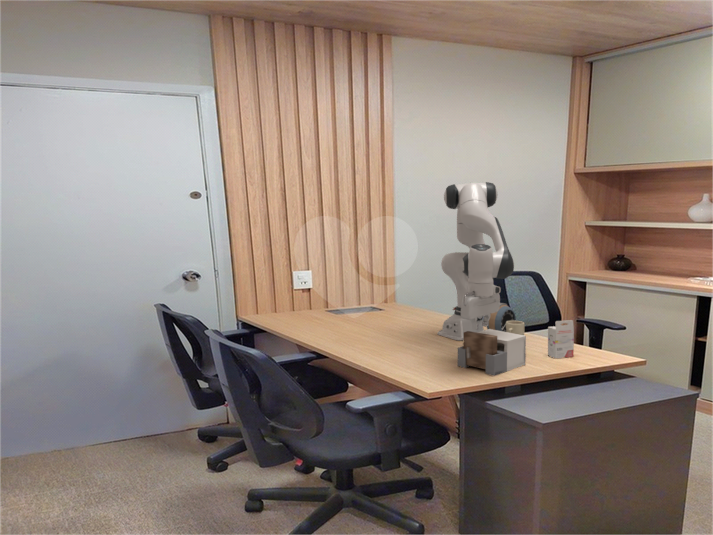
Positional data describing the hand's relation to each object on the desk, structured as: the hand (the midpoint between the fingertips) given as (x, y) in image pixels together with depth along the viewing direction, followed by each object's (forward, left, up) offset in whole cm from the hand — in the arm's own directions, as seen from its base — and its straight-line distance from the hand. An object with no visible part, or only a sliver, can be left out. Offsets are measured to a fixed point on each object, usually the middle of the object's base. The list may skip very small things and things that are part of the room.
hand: (480, 327), depth 184 cm
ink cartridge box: (+11, +37, -16) cm, 41 cm away
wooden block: (0, 0, -14) cm, 14 cm away
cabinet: (0, +7, -15) cm, 17 cm away
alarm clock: (-17, +38, -16) cm, 44 cm away
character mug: (-3, +27, -16) cm, 31 cm away
